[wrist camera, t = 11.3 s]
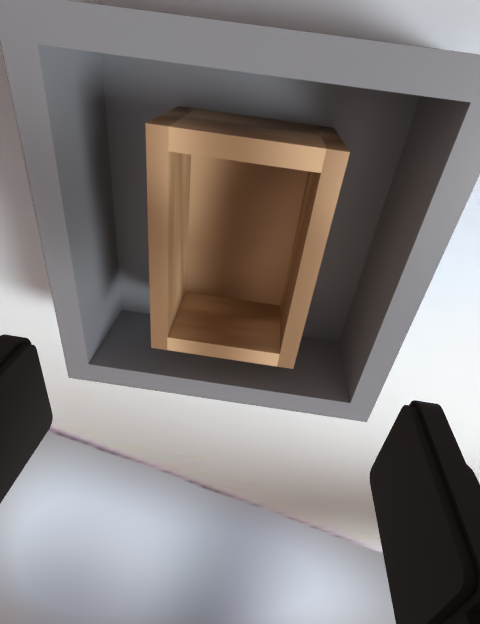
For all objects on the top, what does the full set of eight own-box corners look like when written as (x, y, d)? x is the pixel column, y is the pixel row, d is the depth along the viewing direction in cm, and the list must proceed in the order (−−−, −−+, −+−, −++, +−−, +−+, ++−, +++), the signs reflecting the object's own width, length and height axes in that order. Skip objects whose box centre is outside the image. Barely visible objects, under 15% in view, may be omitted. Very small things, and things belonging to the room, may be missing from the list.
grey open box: (454, 58, 16) (531, 61, 11) (350, 349, 25) (366, 421, 20) (79, 8, 16) (-10, -10, 11) (110, 314, 25) (68, 377, 20)
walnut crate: (334, 127, 17) (350, 152, 13) (291, 311, 23) (293, 369, 19) (178, 106, 17) (145, 122, 13) (175, 294, 23) (151, 347, 19)
